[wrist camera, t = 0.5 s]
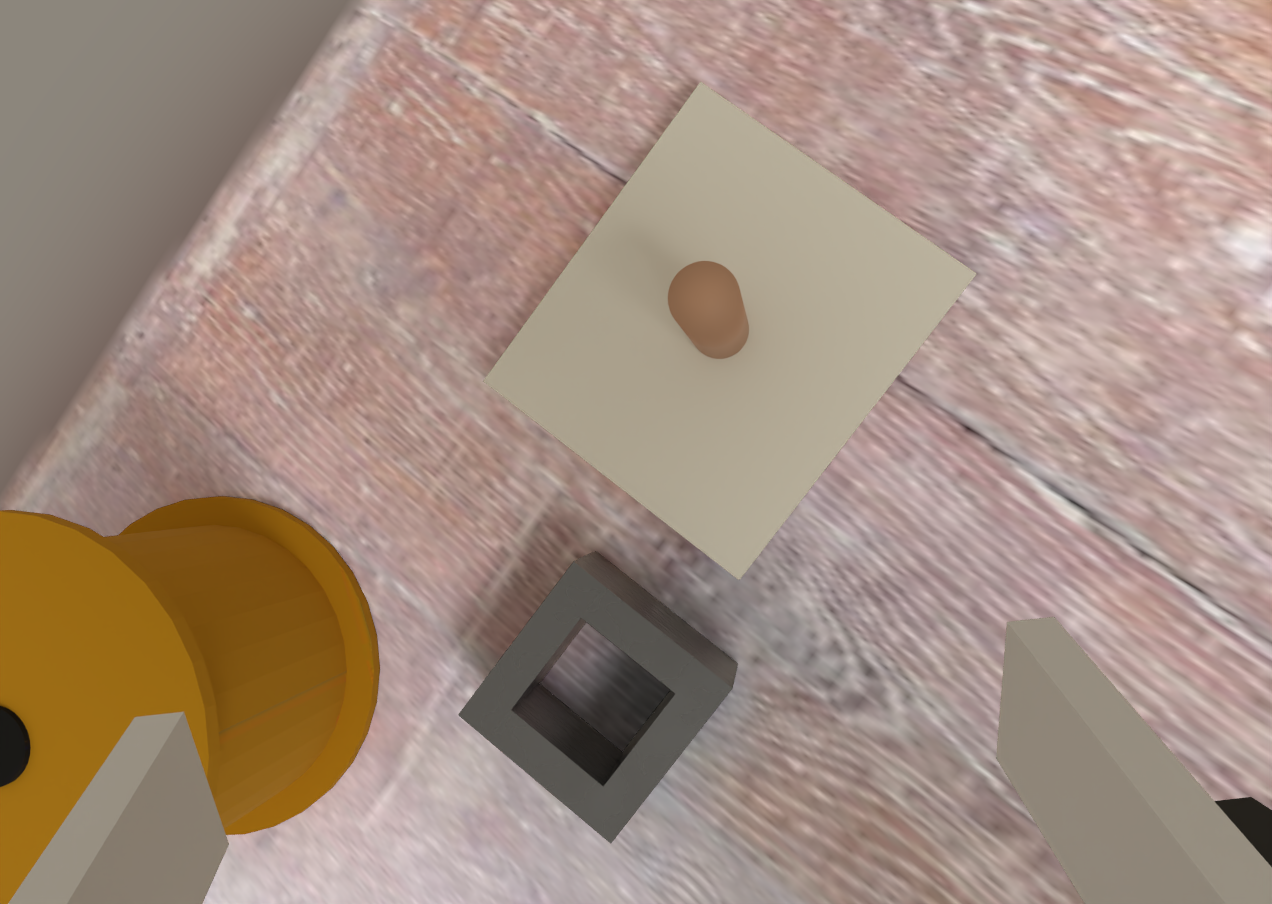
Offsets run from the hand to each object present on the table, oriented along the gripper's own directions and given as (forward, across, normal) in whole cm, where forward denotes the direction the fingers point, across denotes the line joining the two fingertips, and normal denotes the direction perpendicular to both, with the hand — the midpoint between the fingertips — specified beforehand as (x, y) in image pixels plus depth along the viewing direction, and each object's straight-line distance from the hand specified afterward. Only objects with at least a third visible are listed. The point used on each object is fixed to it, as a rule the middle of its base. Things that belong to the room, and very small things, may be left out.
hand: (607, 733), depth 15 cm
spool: (+31, +22, +18) cm, 42 cm away
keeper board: (+32, -6, +3) cm, 33 cm away
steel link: (+27, +1, +18) cm, 32 cm away
